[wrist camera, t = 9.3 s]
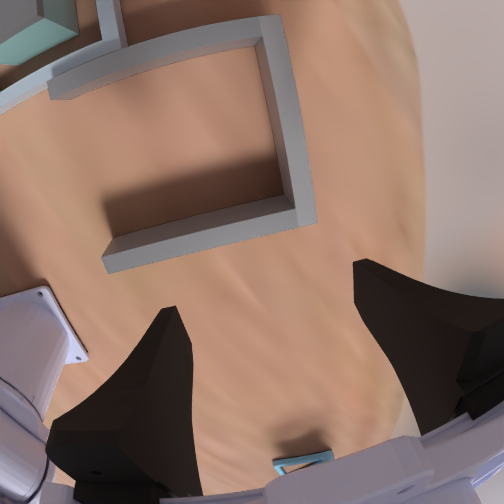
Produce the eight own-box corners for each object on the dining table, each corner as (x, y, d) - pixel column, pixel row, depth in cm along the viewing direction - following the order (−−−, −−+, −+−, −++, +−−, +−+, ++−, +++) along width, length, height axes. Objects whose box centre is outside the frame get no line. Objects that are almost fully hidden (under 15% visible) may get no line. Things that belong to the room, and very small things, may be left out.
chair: (335, 461, 40) (356, 524, 29) (284, 477, 40) (299, 540, 30) (329, 443, 37) (354, 515, 26) (271, 461, 37) (288, 534, 26)
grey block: (19, 65, 14) (-33, 61, 9) (13, 10, 12) (-34, -6, 6) (79, 34, 14) (37, 15, 9) (72, -22, 12) (35, -52, 7)
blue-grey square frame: (-5, 118, 15) (-21, 121, 13) (-17, -1, 10) (-31, -5, 8) (129, 53, 15) (121, 48, 14) (109, -69, 10) (102, -81, 9)
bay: (119, 252, 21) (108, 274, 18) (67, 83, 15) (46, 81, 13) (303, 207, 21) (317, 223, 19) (269, 26, 16) (280, 14, 13)
